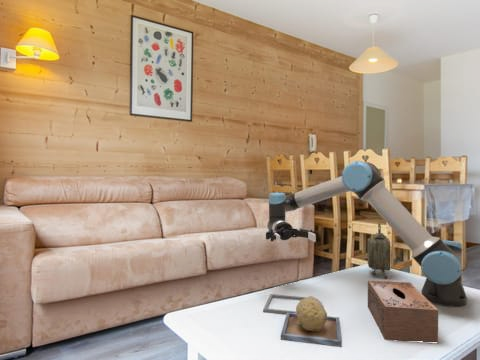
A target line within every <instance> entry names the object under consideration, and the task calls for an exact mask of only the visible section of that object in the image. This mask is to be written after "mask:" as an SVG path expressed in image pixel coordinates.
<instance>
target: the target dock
mask: <svg viewBox="0 0 480 360" xmlns="http://www.w3.org/2000/svg"><path fill="white" fill-rule="evenodd" d="M280 340H282V341H283V340H284V341H293V342H300V343H307V344H315V345H316V344H317V345H325V346H326V345H327V346H333V347H340V348H341V347H342V336H341V325H340V317H339V316H337V317H336V316H328V315H327V319H326V323H325V324H324V327H323V328H322V329H320V331H307V330H305V329H304V328H303V326H302V325H301V324H300V321H299V319H298V317H297V314H296V313H289V312H287V315H286V314H285V318H284V322H283V325H282V329H281V333H280Z"/></svg>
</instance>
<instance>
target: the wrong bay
mask: <svg viewBox="0 0 480 360" xmlns="http://www.w3.org/2000/svg"><path fill="white" fill-rule="evenodd" d="M305 297H306V296H296V295H286V294H275V293H271V294H269V297H268V298H267V301H266V303H265V305H264V307H263V310H262V311H263V313H267V314H268V313H269V314H276V315H279V314H280V315H285V316H286V315H287V312H289V313H296V310H287V309H285V310H284V309H276V308H269V306H270V304H271V303H272V300H273V299H282V300H283V299H284V300H295V301H301V300H302V299H304V298H305Z"/></svg>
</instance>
